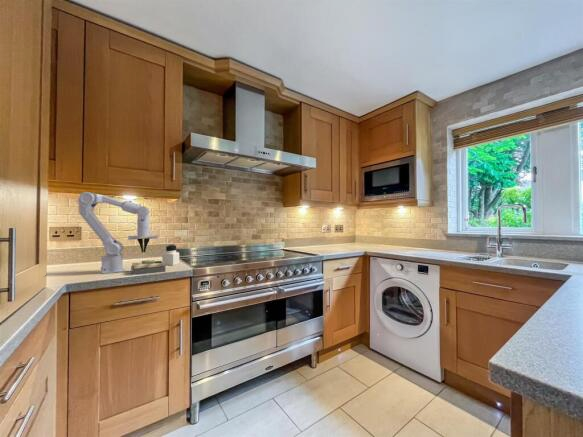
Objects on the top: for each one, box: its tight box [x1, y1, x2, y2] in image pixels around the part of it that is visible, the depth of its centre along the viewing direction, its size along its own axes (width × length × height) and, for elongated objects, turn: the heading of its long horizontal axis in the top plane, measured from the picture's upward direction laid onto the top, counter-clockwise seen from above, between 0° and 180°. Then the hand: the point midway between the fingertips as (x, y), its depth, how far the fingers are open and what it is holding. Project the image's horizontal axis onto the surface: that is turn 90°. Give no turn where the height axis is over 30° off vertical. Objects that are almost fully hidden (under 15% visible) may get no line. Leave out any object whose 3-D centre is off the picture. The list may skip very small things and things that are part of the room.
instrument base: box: [130, 265, 166, 276], centre depth 140 cm, size 15×13×3 cm
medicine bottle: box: [161, 244, 180, 266], centre depth 160 cm, size 7×7×12 cm
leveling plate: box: [131, 259, 165, 269], centre depth 140 cm, size 14×12×3 cm
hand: (143, 252), depth 144 cm, fingers closed
